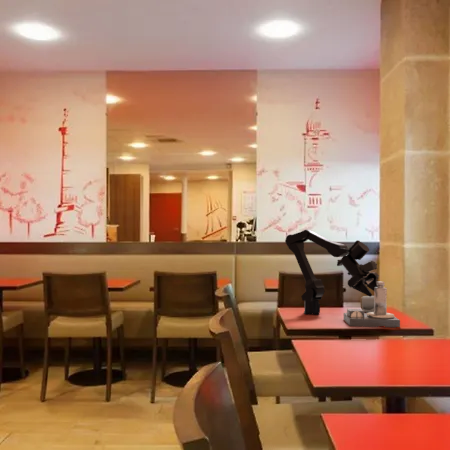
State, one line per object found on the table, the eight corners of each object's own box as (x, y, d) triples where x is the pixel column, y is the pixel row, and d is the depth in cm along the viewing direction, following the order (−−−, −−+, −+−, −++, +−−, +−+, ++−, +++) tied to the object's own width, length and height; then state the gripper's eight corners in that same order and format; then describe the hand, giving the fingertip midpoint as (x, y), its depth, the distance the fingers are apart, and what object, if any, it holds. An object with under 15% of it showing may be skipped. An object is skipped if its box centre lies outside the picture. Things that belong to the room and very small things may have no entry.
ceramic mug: (362, 309, 250) (362, 293, 250) (379, 310, 247) (379, 294, 247) (359, 312, 240) (359, 296, 240) (376, 314, 237) (377, 297, 237)
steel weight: (372, 314, 210) (373, 281, 210) (375, 312, 214) (375, 281, 214) (385, 315, 207) (385, 282, 208) (387, 313, 212) (387, 281, 212)
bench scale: (349, 326, 204) (349, 312, 204) (343, 319, 219) (343, 306, 219) (400, 327, 203) (400, 313, 203) (390, 321, 218) (390, 308, 218)
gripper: (354, 255, 209) (379, 284, 201) (375, 254, 223) (398, 281, 215) (337, 272, 214) (360, 301, 207) (358, 270, 228) (380, 297, 221)
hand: (376, 295), depth 212 cm, fingers open, 9 cm apart
